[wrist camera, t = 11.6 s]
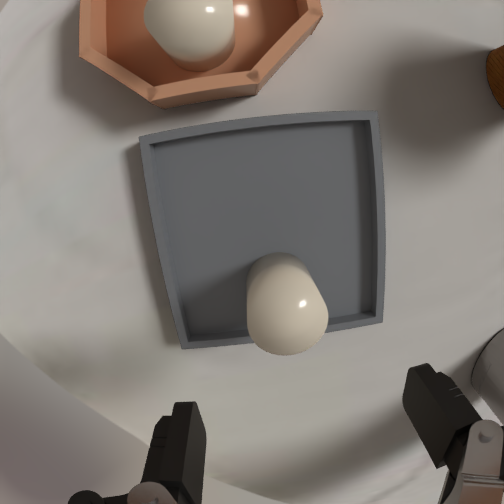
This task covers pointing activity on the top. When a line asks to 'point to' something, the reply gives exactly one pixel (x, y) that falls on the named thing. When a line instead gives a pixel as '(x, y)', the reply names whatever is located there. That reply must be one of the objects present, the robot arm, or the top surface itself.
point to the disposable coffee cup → (496, 73)
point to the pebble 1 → (193, 31)
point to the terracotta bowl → (187, 82)
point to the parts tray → (267, 215)
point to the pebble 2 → (284, 305)
